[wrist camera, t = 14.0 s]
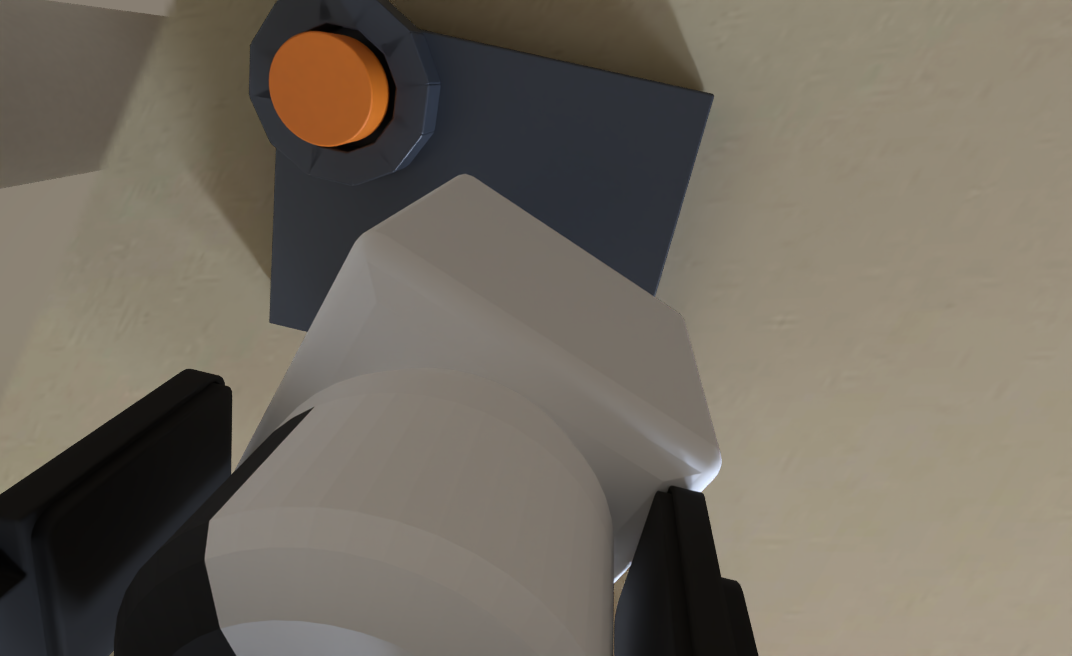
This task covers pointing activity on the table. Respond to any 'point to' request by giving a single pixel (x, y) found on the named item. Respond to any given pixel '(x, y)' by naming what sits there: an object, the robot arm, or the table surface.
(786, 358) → the table surface
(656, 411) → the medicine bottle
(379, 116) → the button
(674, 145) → the scale
